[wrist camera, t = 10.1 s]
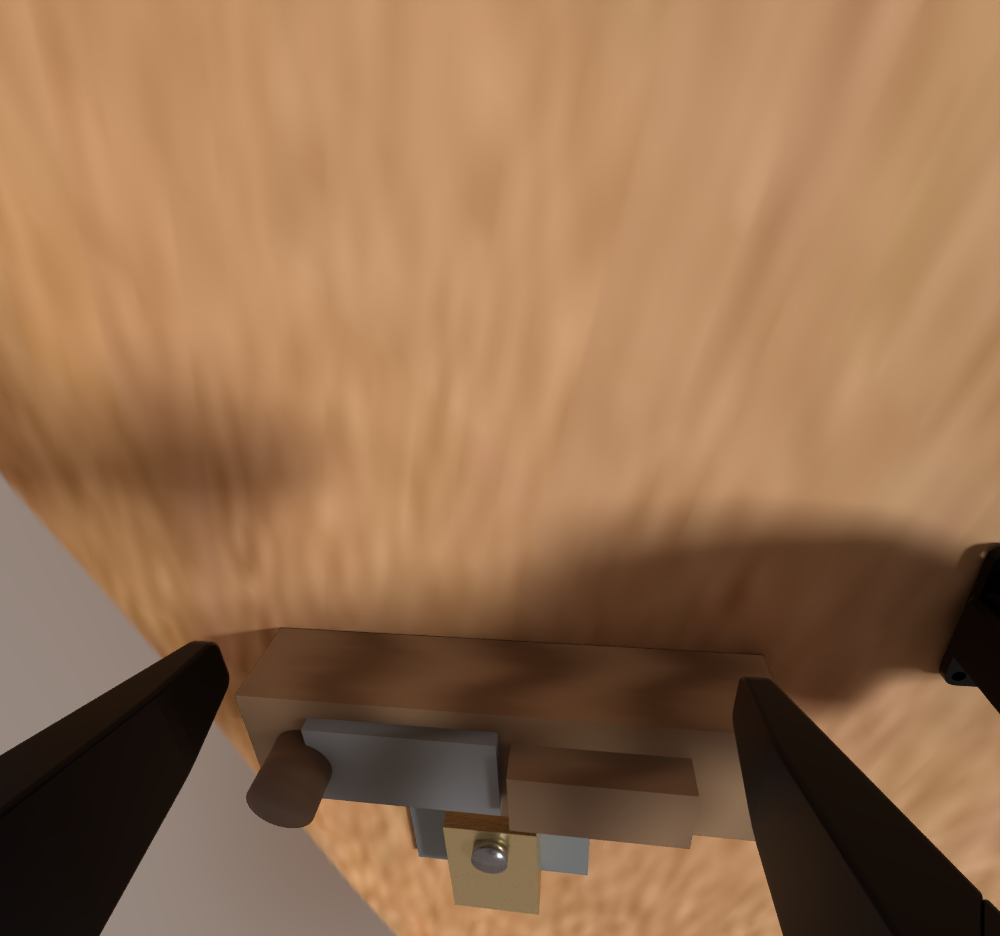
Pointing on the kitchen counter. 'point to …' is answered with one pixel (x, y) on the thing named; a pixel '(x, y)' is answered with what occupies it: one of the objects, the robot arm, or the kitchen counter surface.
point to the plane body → (501, 733)
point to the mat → (554, 849)
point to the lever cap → (492, 863)
